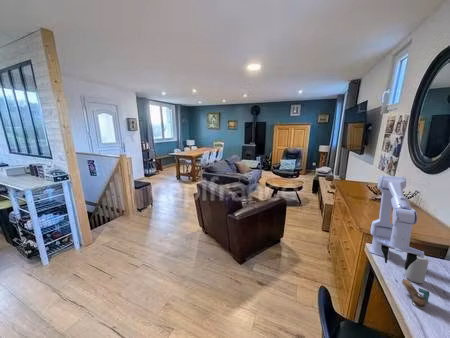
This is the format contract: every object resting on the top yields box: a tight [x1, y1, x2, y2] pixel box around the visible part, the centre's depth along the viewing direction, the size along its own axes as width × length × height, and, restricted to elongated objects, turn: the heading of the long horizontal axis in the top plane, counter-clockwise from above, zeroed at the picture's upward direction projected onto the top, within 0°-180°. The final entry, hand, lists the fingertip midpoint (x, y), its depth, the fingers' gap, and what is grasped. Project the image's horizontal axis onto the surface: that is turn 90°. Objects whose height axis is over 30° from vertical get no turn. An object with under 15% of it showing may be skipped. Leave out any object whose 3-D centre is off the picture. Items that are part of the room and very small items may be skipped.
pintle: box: [411, 293, 426, 310], centre depth 71 cm, size 4×4×4 cm
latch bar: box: [401, 278, 427, 308], centre depth 74 cm, size 12×3×3 cm, turn 158°
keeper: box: [418, 287, 430, 304], centre depth 72 cm, size 1×3×4 cm, turn 48°
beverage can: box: [403, 255, 429, 284], centre depth 83 cm, size 6×6×12 cm
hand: (395, 265), depth 79 cm, fingers open, 6 cm apart
